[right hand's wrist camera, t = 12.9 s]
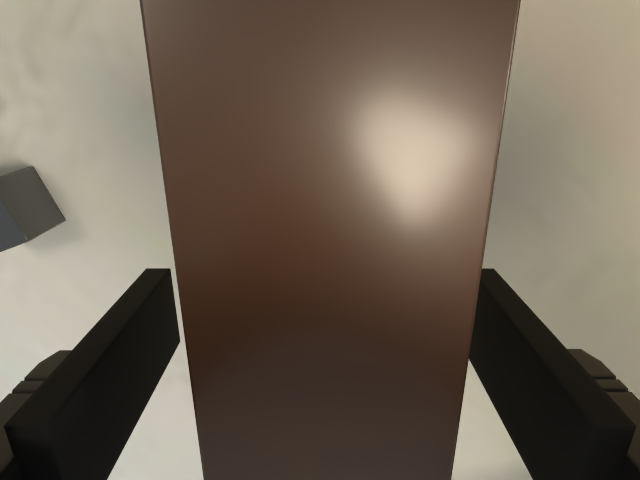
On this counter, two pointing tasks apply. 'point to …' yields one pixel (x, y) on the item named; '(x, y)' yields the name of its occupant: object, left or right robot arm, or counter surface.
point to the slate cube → (25, 208)
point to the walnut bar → (328, 222)
